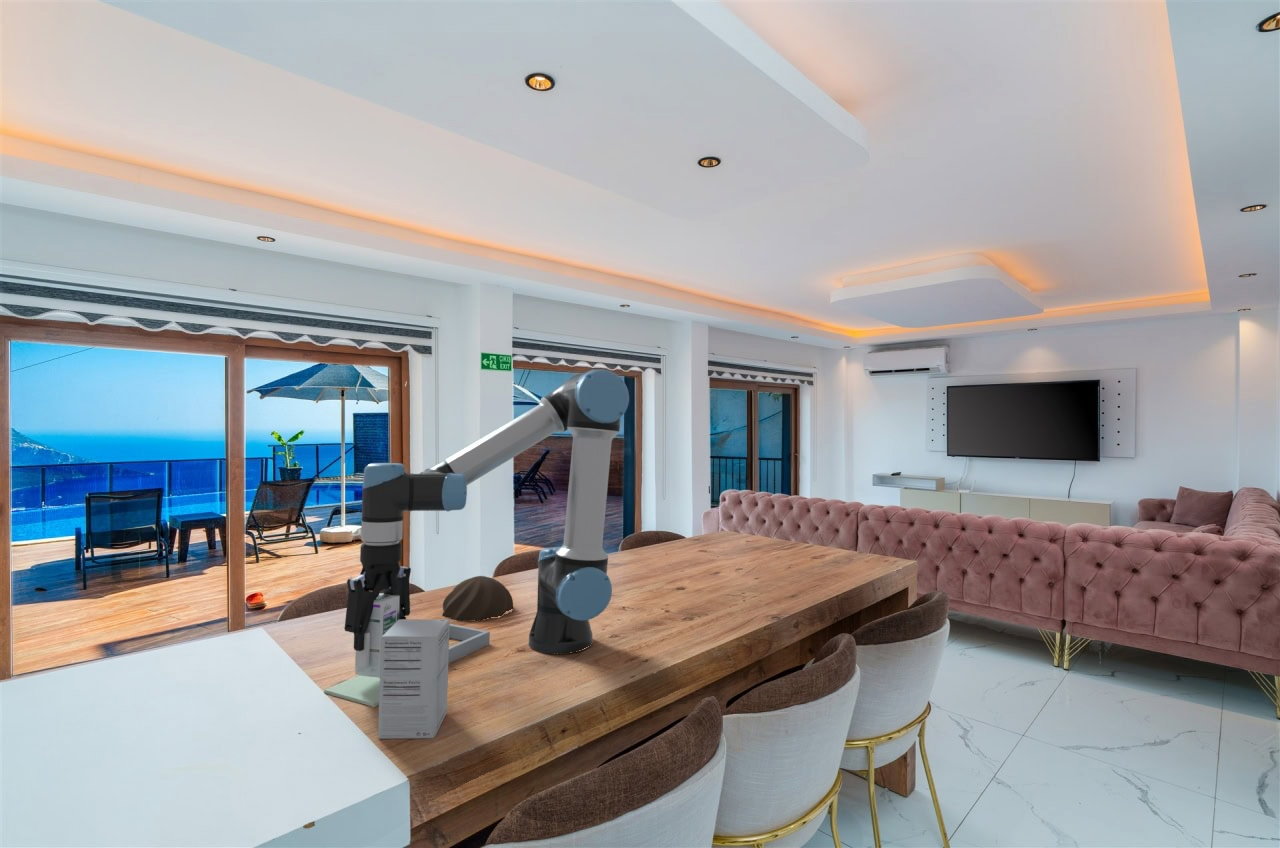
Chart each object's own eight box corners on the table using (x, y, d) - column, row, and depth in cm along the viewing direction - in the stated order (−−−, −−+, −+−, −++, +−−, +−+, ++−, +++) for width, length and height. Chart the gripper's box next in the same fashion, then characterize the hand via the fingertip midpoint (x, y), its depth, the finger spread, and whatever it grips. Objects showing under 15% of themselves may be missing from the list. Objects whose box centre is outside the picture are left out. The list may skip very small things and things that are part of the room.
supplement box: (394, 713, 109) (397, 618, 110) (447, 712, 110) (450, 618, 110) (376, 740, 100) (379, 635, 100) (434, 739, 100) (437, 635, 101)
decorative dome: (512, 601, 185) (513, 567, 185) (513, 621, 165) (514, 583, 165) (445, 603, 180) (446, 569, 181) (438, 623, 161) (439, 585, 161)
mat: (426, 681, 123) (426, 678, 123) (374, 707, 111) (374, 703, 111) (379, 669, 129) (379, 667, 129) (324, 692, 117) (324, 689, 117)
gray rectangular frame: (489, 644, 146) (489, 631, 146) (417, 678, 125) (417, 663, 125) (440, 634, 152) (440, 622, 152) (363, 664, 131) (364, 650, 131)
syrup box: (380, 678, 117) (383, 601, 117) (353, 675, 118) (356, 599, 118) (398, 667, 122) (401, 594, 123) (372, 664, 123) (374, 591, 124)
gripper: (405, 533, 131) (401, 642, 131) (324, 547, 113) (319, 673, 113) (432, 536, 128) (428, 648, 127) (353, 551, 110) (348, 681, 110)
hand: (377, 660), depth 120 cm, fingers closed on syrup box, 6 cm apart
